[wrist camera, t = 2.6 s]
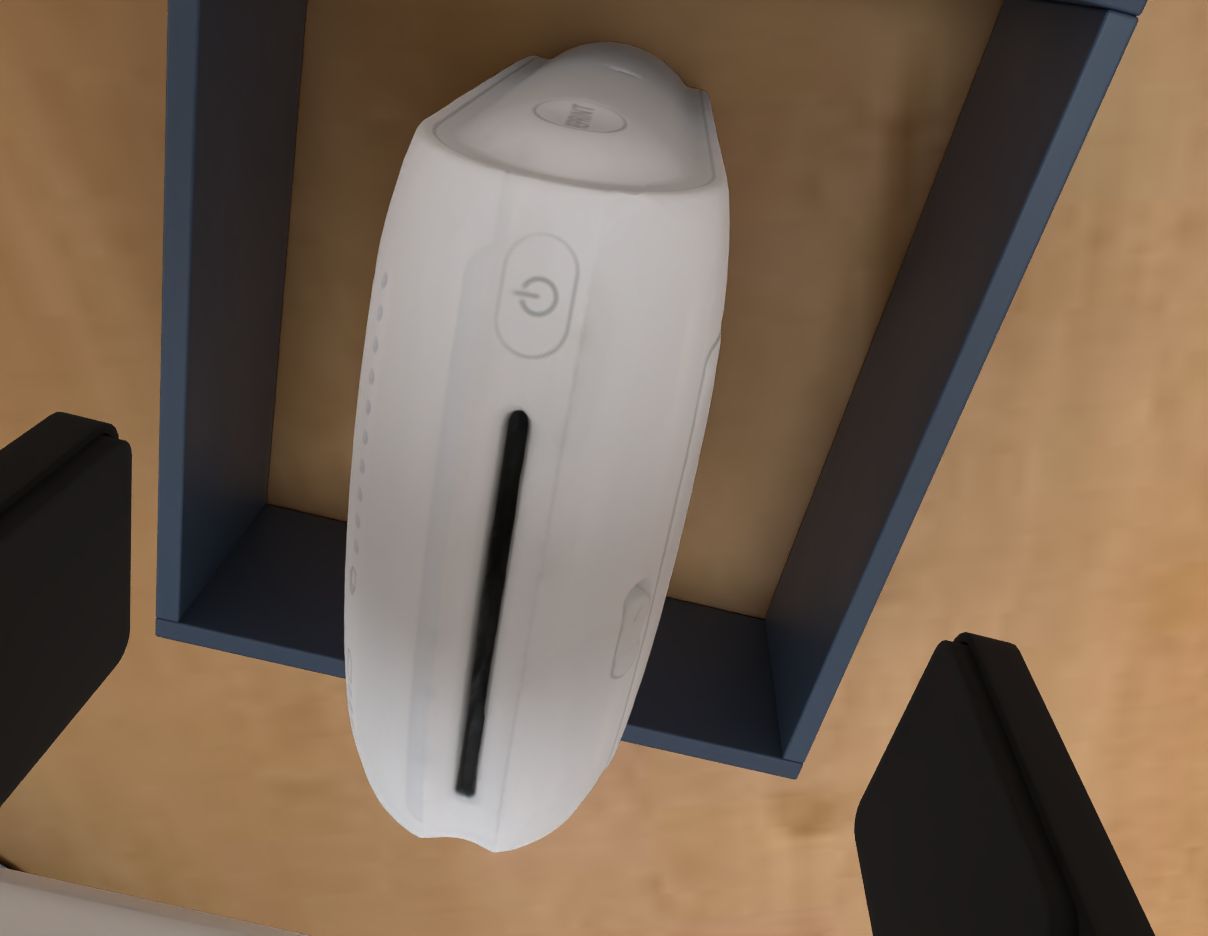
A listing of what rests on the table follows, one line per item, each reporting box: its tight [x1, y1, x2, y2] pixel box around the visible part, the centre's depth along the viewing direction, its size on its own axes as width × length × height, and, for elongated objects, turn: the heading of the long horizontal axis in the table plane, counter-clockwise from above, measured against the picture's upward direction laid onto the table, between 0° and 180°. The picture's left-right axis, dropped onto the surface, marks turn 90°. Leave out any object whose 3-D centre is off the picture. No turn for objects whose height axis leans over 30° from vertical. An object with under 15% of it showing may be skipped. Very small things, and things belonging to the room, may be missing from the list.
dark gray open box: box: [156, 0, 1147, 779], centre depth 20 cm, size 16×14×5 cm
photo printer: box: [344, 42, 730, 852], centre depth 16 cm, size 10×4×12 cm, turn 170°
